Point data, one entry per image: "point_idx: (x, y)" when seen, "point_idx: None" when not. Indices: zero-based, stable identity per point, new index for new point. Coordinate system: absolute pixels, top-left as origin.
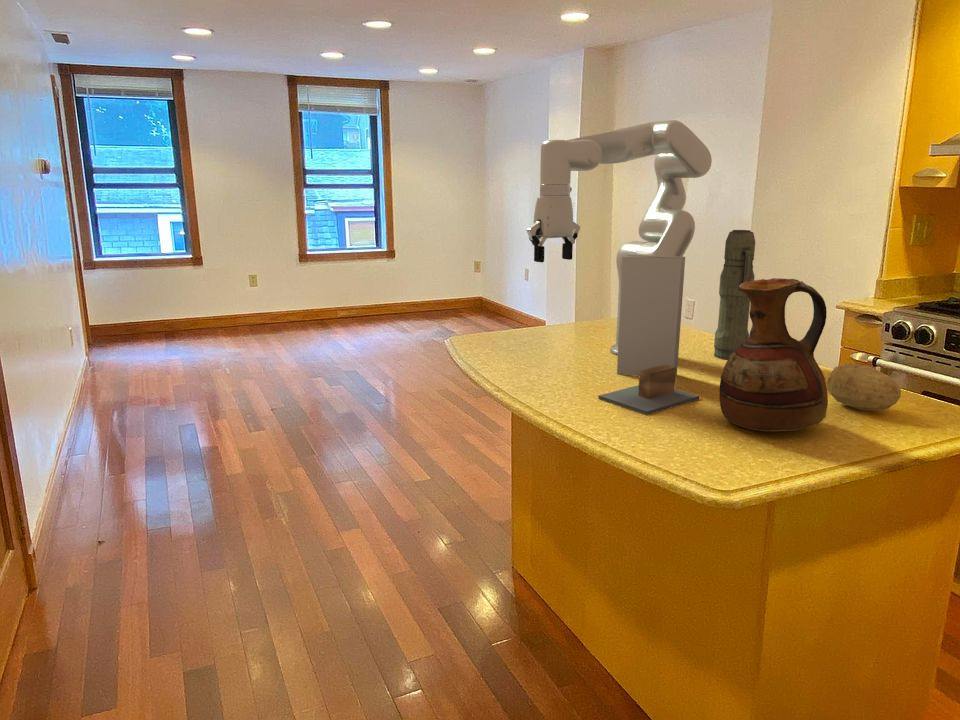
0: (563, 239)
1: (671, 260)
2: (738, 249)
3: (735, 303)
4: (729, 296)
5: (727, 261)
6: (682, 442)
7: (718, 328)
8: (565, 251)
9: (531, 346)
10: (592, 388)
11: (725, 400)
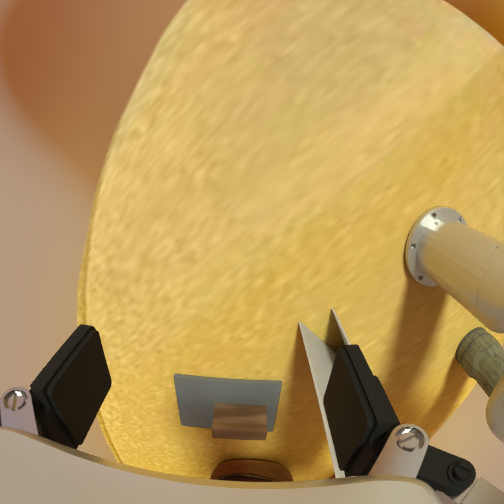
0: (372, 465)
1: None
2: None
3: None
4: None
5: None
6: (159, 452)
7: (487, 359)
8: (343, 405)
9: (340, 66)
10: (201, 345)
11: (213, 478)
